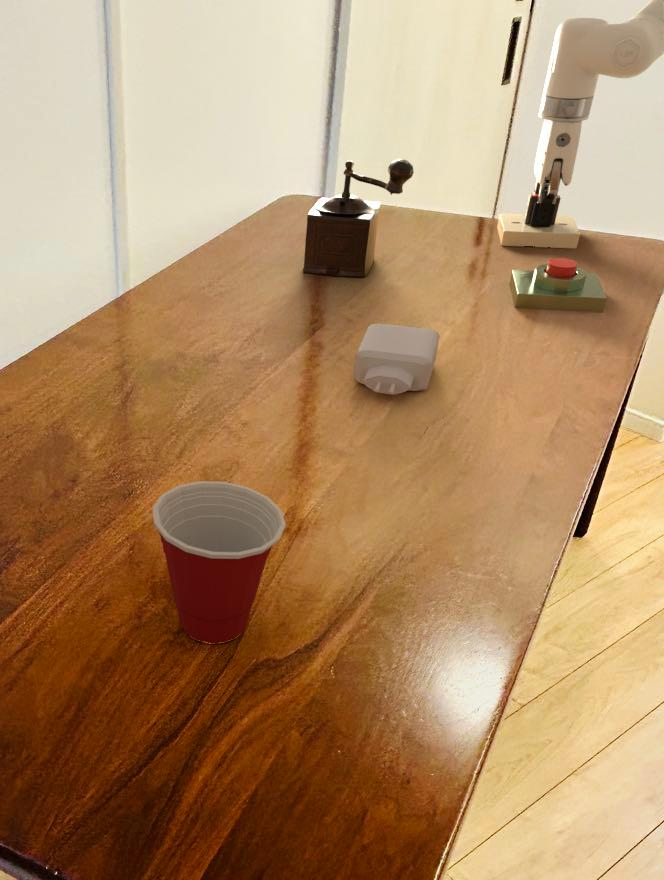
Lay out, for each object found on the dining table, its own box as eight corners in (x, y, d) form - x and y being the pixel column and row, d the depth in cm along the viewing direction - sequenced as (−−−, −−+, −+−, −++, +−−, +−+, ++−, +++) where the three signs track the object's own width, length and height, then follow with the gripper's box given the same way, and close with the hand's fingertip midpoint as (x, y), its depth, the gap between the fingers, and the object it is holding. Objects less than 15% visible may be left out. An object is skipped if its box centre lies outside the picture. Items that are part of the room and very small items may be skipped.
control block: (592, 287, 138) (599, 261, 136) (602, 312, 131) (610, 286, 128) (509, 283, 141) (514, 258, 139) (514, 307, 133) (520, 281, 131)
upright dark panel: (553, 222, 156) (559, 193, 153) (554, 224, 155) (561, 196, 152) (523, 221, 157) (529, 193, 154) (524, 223, 156) (530, 195, 153)
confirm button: (572, 270, 135) (575, 258, 134) (576, 279, 132) (579, 268, 131) (544, 268, 136) (546, 257, 135) (547, 278, 133) (549, 266, 132)
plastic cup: (295, 653, 76) (307, 539, 69) (172, 676, 75) (170, 562, 68) (254, 576, 85) (260, 468, 78) (142, 595, 83) (138, 486, 76)
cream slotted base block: (568, 230, 160) (572, 214, 158) (576, 248, 152) (580, 232, 151) (497, 227, 163) (500, 212, 161) (501, 245, 155) (504, 230, 153)
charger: (343, 404, 111) (364, 354, 123) (420, 415, 108) (434, 363, 120) (347, 369, 109) (368, 321, 120) (426, 379, 106) (440, 329, 117)
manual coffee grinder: (299, 274, 148) (308, 158, 137) (314, 252, 156) (323, 141, 145) (396, 283, 143) (413, 163, 132) (406, 260, 151) (422, 146, 141)
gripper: (598, 118, 138) (568, 239, 149) (582, 97, 151) (555, 209, 161) (546, 118, 139) (520, 237, 150) (534, 96, 152) (511, 207, 163)
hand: (538, 221), depth 156 cm, fingers open, 3 cm apart
